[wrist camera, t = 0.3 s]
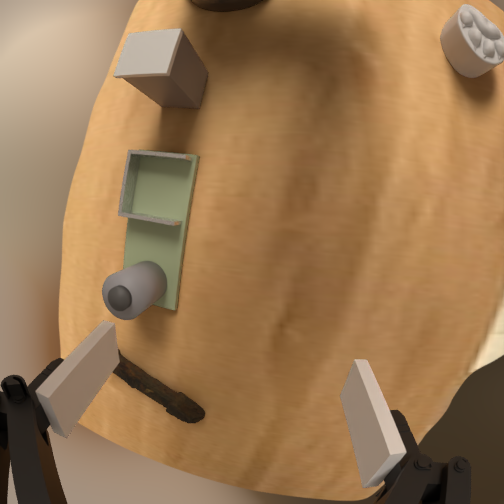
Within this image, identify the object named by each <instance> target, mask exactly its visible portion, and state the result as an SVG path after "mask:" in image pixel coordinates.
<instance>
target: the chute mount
mask: <svg viewBox="0 0 504 504" xmlns="http://www.w3.org/2000/svg"><path fill="white" fill-rule="evenodd" d="M141 157H151V158H161V159H171V160H180V161H189V162H192V161H193V158H191V157H189V156H187V155H183V154H174V153H163V152H152V151H139V150H128V155H127V160H126V166H125V171H124V177H123V183H122V190H121V197H120V204H119V211H118V216H123V217H129V218H134V219H140V220H145V221H151V222H156V223H162V224H167V225H173V226H175V225H180V224H182V220H177V219H171V218H166V217H160V216H154V215H148V214H143V213H137V212H132V207H133V200H134V193H135V187H136V180H137V175H138V169H139V163H140V158H141Z"/></svg>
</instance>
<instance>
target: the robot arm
mask: <svg viewBox="0 0 504 504" xmlns="http://www.w3.org/2000/svg"><path fill="white" fill-rule="evenodd" d="M191 1H192V2H193V3H194V4H195V5H197V6H199V7H201V8H203V9H207V10H212V11H233V10H239V9H243V8H247V7H250V6H253V5H255V4H257V3H259V2H261V1H263V0H191ZM119 362H120V361H119V354H118V346H117V338H116V329H115V323H112V322H108V321H104V320H103V321H102V322H101V323H100V324H99V325H98V326H97V327H96V328H95V329H94V330H93V331H92V332H91V333H90V334H89V335H88V336H87V337H86V338H85V339H84V340H83V341H82V342H81V343H80V344H79V345H78V346H77V347H76V348H75V349H74V351H73V352H72V353H71V354H70V355H69V356H68V357H67V358H66V359H65V360H64V359H62V358H58V359H56V360H54V361H52V362H51V363H50V364H49V365H48V366H47V367H46V369H44V370H43V371H42V372H41V374H39V375H38V376H37V377H36V378H35V379H34V380H33V381H32V383H31V384H29V386H28V387H27V385H26V382H25V380H24V379H23V378H22V377H21V376H18V375H10V376H8V377H6V378H4V380H3V381H2V382H1V387H2V390H3V392H1V391H0V504H7V494H8V478H9V468H10V460H11V467H12V474H13V480H14V485H15V490H16V495H17V500H18V504H67V501H66V498H65V495H64V492H63V489H62V485H61V482H60V479H59V475H58V472H57V468H56V464H55V460H54V456H53V452H52V447H51V443H50V438H49V433H48V431H47V428H48V427H49V425H51V427H52V429H53V431H54V432H55V433H57V434H59V435H61V436H63V437H65V438H67V437H68V436H69V434H70V433H71V431H72V429H73V428H74V427H75V425H76V424H77V422H78V421H79V419H80V418H81V416H82V415H83V413H84V412H85V410H86V409H87V408H88V406H89V405H90V403H91V402H92V400H93V399H94V397H95V396H96V395H97V393H98V392H99V390H100V389H101V387H102V386H103V385H104V383H105V382H106V380H107V379H108V378H109V376H110V375H111V373H112V372H113V371H114V369H115V368H116V366H117V365H118V364H119ZM340 398H341V401H342V405H343V409H344V413H345V416H346V420H347V424H348V428H349V432H350V436H351V440H352V444H353V448H354V452H355V456H356V460H357V465H358V469H359V473H360V478H361V482H362V487H363V488H367V487H374V486H378V485H379V484H380V483H381V482H382V481H383V480H384V482H385V485H386V486H385V487H384V488H383V489H382V490H381V491H380V492H379V493H378V494H377V495H376V496H377V499H376V500H375V502H374V503H373V504H470V497H471V466H470V463H469V462H468V460H467V459H465V458H464V457H460V456H456V457H454V458H452V459H451V460H450V461H449V462H448V463H438V462H433V461H432V459H431V458H430V457H428V456H427V455H425V454H421V453H420V451H419V448H418V446H417V443H416V441H415V439H414V437H413V434H412V432H410V428H409V426H408V423H407V421H406V419H405V417H404V415H403V414H402V413H401V412H400V411H399V410H389V408H388V406H387V403H386V401H385V399H384V396H383V394H382V392H381V390H380V387H379V385H378V383H377V381H376V378H375V376H374V374H373V372H372V370H371V367H370V365H369V363H368V361H367V360H363V359H354V361H353V364H352V367H351V369H350V372H349V374H348V377H347V380H346V382H345V385H344V387H343V390H342V392H341V394H340Z"/></svg>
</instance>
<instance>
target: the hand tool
mask: <svg viewBox="0 0 504 504" xmlns="http://www.w3.org/2000/svg"><path fill="white" fill-rule="evenodd" d="M118 354H119V361H120V362H119V364H118V365H117V366H116V368H115V369H114V371H113V373H115V374H116V375H117V376H119V377H120V378H121V379H123V380H124V381H125V382H127V383H128V385H130V386H131V388H136V389H137V390H139V391H141V392H142V393H144V394H145V395H147V396H148V397H150V398H151V399H153V400H155V401H156V402H158V403H159V404H161V405H163V406H164V407H166V408H167V409H166V412H168V413H169V414H171V415H173V416H175V417H177V418H178V419H180V420H181V421H185V422H187V423H197V422H199V421H200V420H202V419H203V418H204V416H205V411H204V410H203V409H202V408H201V407H200V406H199V405H197V404H196V403H195V402H194V401H193V400H191V399H189V398H188V397H187V396H186V395H184V394H183V393H182V392H179V393H177V392H175V391H173V390H171V389H170V388H168V387H167V386H165V385H164V384H162V383H161V382H160V381H158V380H157V379H155V378H153V377H151V376H150V375H148V374H147V373H145V372H144V371H143V370H142V369H140V368H139V367H137V366H136V365H134V364H133V363H131V362H130V361H128V360H127V359H125V358H124V357H123V356H122V355H120V353H119V349H118Z"/></svg>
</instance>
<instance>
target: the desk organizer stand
mask: <svg viewBox="0 0 504 504" xmlns="http://www.w3.org/2000/svg"><path fill="white" fill-rule="evenodd" d="M139 151H151V150H139ZM152 152H162V151H152ZM163 153H173V152H163ZM174 154H182V153H174ZM183 155H187V156H189V157H191V158H193V161H192V162H189V161H180V160H171V159H161V158H151V157H141V158H140V163H139V169H138V175H137V180H136V187H135V193H134V200H133V207H132V212H137V213H143V214H148V215H154V216H160V217H166V218H171V219H177V220H182V224H180V225H175V226H173V225H167V224H162V223H156V222H151V221H145V220H140V219H134V218H129V217H128V223H127V232H126V242H125V253H124V265H123V270H121V271H118V272H116V273H114V274H112V275H110V276H109V277H107V279H106V280H105V282H104V284H103V288H102V295H103V300H104V303H105V305H106V307H107V308H108V310H109V311H110V312H111V313H112V314H113V315H114V316H116V317H117V318H120V319H123V320H131V319H134V318H136V317H137V316H138V315H140V314H141V313H142V312H143V311H145V310H146V309H147V308H148V307H150V306H151V305H156V306H159V307H163V308H167V309H171V310H176V309H177V307H178V297H179V288H180V280H181V271H182V263H183V256H184V248H185V241H186V234H187V228H188V221H189V215H190V208H191V202H192V196H193V191H194V185H195V179H196V174H197V168H198V163H199V158H200V156H198V155H191V154H183Z"/></svg>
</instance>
